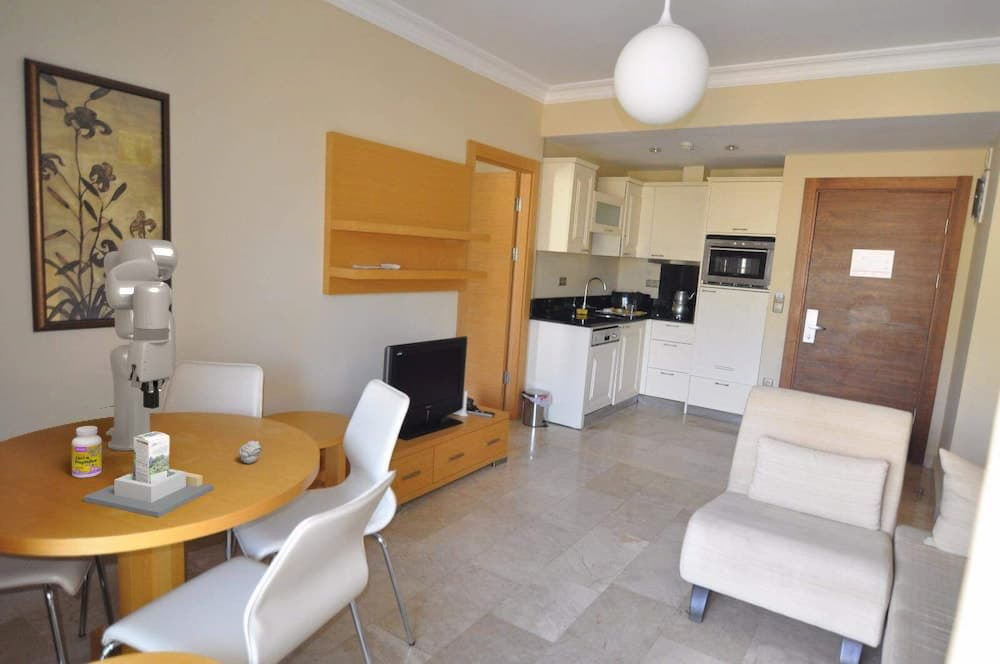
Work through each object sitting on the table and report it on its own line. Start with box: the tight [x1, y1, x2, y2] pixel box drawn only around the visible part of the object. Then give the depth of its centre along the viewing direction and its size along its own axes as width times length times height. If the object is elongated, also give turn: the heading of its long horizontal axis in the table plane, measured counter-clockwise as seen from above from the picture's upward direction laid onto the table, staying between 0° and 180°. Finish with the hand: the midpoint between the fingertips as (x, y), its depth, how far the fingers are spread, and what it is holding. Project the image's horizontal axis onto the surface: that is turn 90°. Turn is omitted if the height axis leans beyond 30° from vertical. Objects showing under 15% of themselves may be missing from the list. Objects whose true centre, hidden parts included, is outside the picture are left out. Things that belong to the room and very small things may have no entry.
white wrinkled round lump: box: [238, 440, 263, 464], centre depth 175 cm, size 6×7×7 cm
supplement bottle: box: [71, 425, 103, 479], centre depth 158 cm, size 7×7×13 cm
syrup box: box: [132, 431, 171, 484], centre depth 148 cm, size 6×6×14 cm
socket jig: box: [83, 468, 214, 518], centre depth 149 cm, size 22×18×5 cm
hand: (151, 407), depth 146 cm, fingers closed
